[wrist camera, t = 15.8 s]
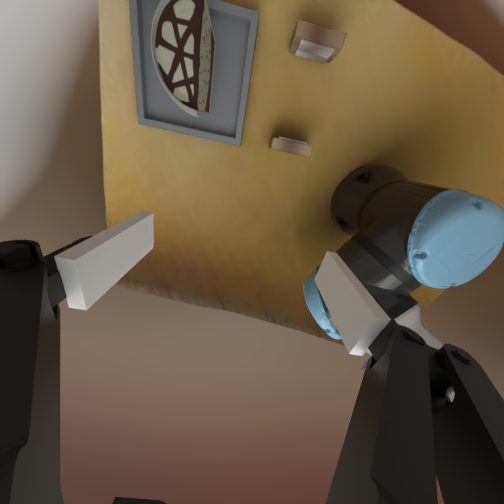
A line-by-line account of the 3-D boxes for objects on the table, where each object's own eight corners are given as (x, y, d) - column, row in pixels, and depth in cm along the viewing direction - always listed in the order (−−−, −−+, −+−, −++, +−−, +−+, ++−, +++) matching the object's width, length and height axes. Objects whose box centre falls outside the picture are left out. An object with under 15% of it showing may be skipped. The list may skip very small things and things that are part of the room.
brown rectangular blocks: (333, 49, 31) (346, 33, 26) (302, 155, 38) (309, 156, 34) (291, 38, 30) (298, 19, 26) (268, 148, 37) (271, 148, 33)
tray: (258, 22, 29) (259, 11, 27) (240, 146, 37) (240, 145, 35) (136, -13, 28) (126, -27, 25) (145, 125, 36) (138, 123, 33)
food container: (175, 16, 28) (142, -44, 19) (217, 28, 29) (202, -25, 20) (174, 115, 34) (148, 103, 25) (209, 123, 35) (195, 115, 26)
